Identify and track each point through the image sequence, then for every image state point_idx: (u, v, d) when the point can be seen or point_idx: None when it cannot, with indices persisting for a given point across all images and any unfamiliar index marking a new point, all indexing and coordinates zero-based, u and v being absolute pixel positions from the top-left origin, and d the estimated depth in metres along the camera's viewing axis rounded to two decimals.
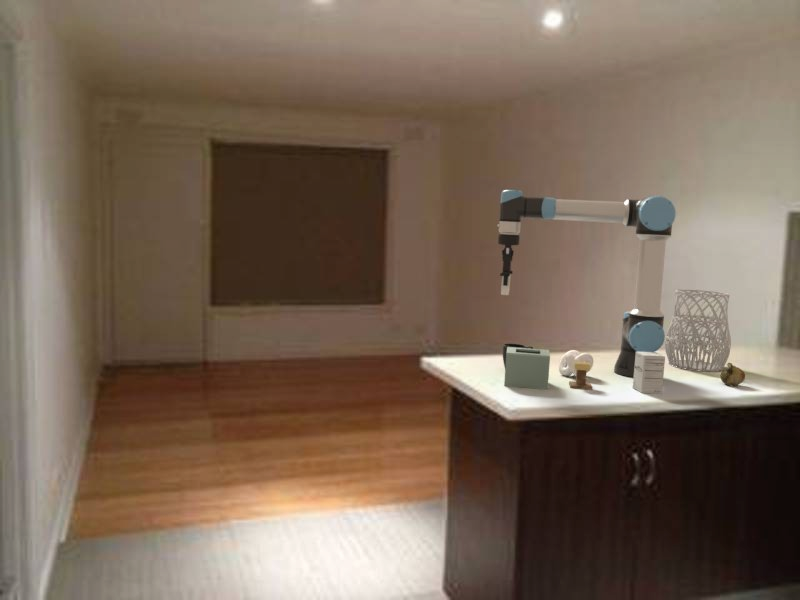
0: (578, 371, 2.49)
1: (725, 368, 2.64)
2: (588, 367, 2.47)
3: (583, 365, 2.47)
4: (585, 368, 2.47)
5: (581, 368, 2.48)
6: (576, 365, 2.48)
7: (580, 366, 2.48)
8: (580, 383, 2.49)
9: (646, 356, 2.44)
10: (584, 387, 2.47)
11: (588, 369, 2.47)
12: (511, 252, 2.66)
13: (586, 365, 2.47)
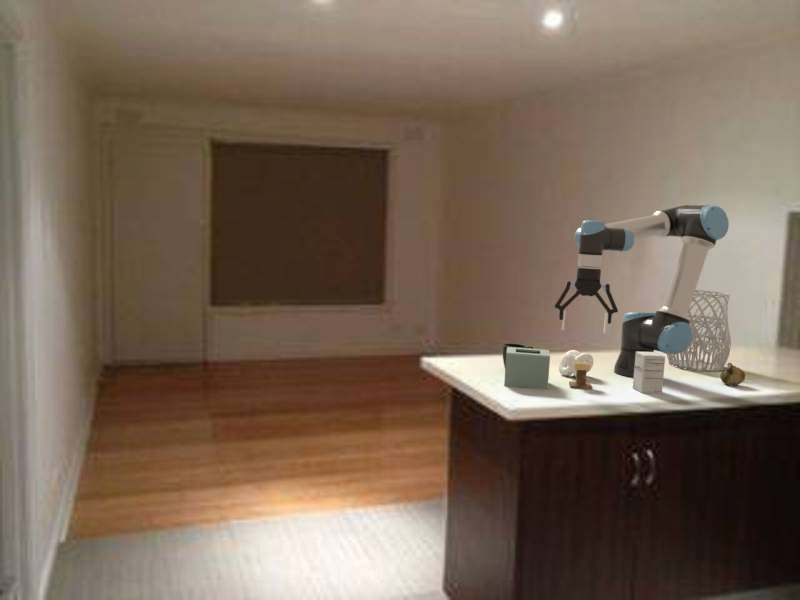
0: (578, 371, 2.49)
1: (725, 368, 2.64)
2: (588, 367, 2.47)
3: (583, 365, 2.47)
4: (585, 368, 2.47)
5: (581, 368, 2.48)
6: (576, 365, 2.48)
7: (580, 366, 2.48)
8: (580, 383, 2.49)
9: (646, 356, 2.44)
10: (584, 387, 2.47)
11: (588, 369, 2.47)
12: (581, 287, 2.46)
13: (586, 365, 2.47)
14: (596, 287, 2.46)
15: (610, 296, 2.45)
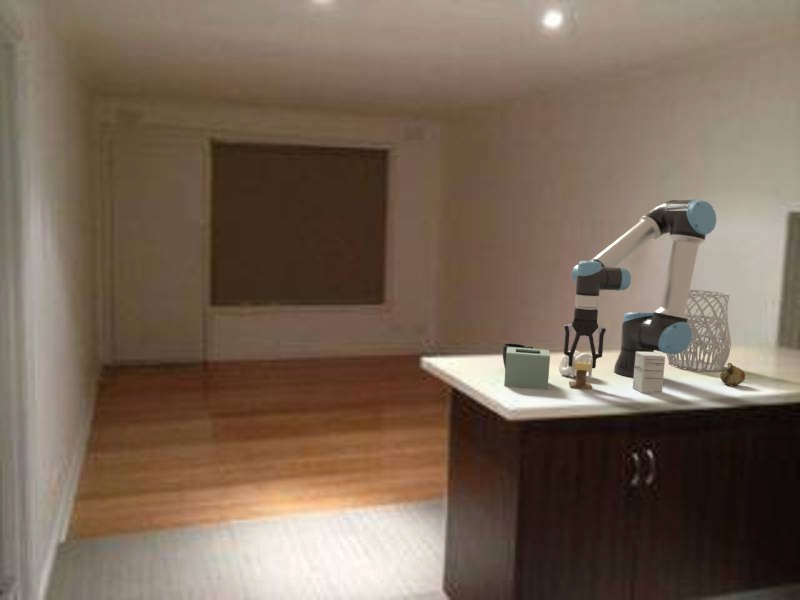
0: (578, 371, 2.49)
1: (725, 368, 2.64)
2: (588, 367, 2.47)
3: (583, 365, 2.47)
4: (585, 368, 2.47)
5: (581, 368, 2.48)
6: (576, 365, 2.48)
7: (580, 366, 2.48)
8: (580, 383, 2.49)
9: (646, 356, 2.44)
10: (584, 387, 2.47)
11: (588, 369, 2.47)
12: (578, 328, 2.48)
13: (586, 365, 2.47)
14: (593, 326, 2.47)
15: (601, 340, 2.47)
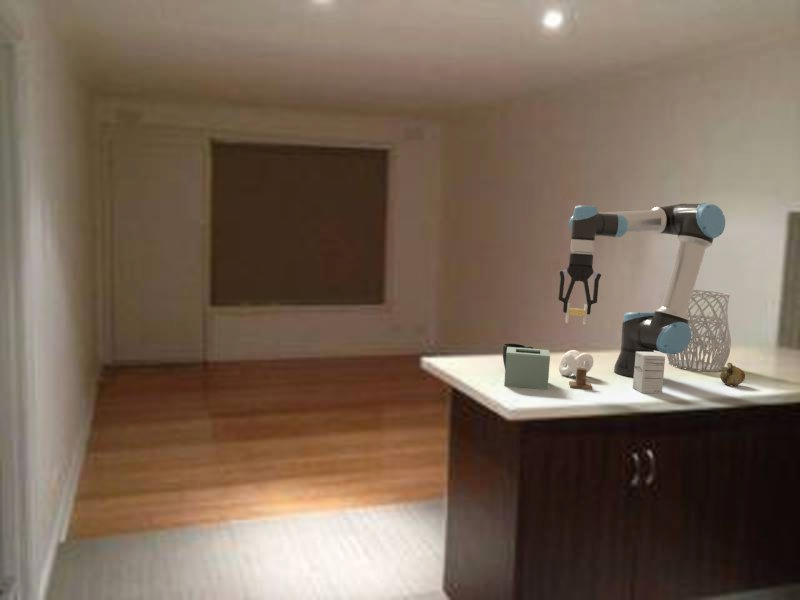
0: (578, 371, 2.49)
1: (725, 368, 2.64)
2: (583, 313, 2.45)
3: (578, 311, 2.45)
4: (580, 314, 2.45)
5: (576, 314, 2.45)
6: (571, 311, 2.46)
7: (575, 312, 2.45)
8: (580, 383, 2.49)
9: (646, 356, 2.44)
10: (584, 387, 2.47)
11: (583, 315, 2.45)
12: (574, 273, 2.46)
13: (581, 311, 2.45)
14: (588, 272, 2.45)
15: (596, 286, 2.45)
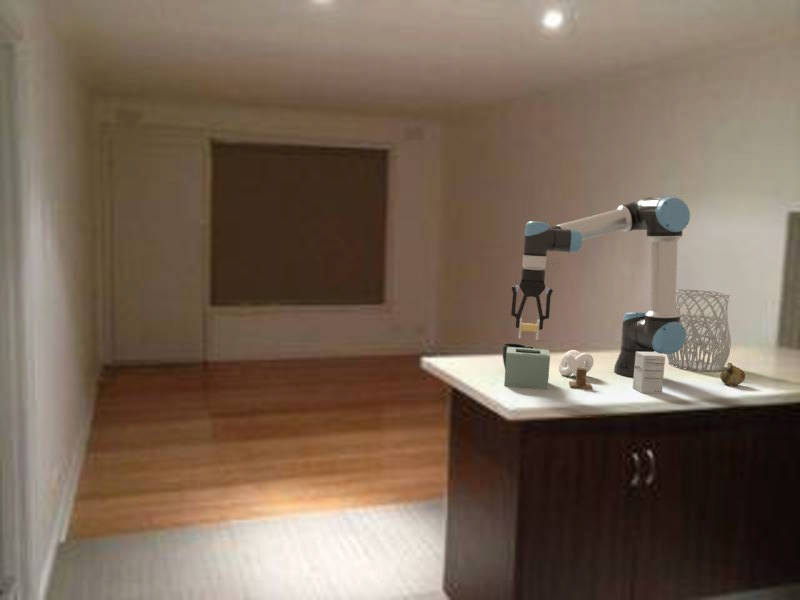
0: (578, 371, 2.49)
1: (725, 368, 2.64)
2: (535, 328, 2.46)
3: (530, 326, 2.46)
4: (532, 329, 2.46)
5: (528, 329, 2.46)
6: (523, 326, 2.46)
7: (527, 327, 2.46)
8: (580, 383, 2.49)
9: (646, 356, 2.44)
10: (584, 387, 2.47)
11: (535, 330, 2.46)
12: (526, 289, 2.46)
13: (533, 326, 2.46)
14: (540, 287, 2.46)
15: (548, 301, 2.46)
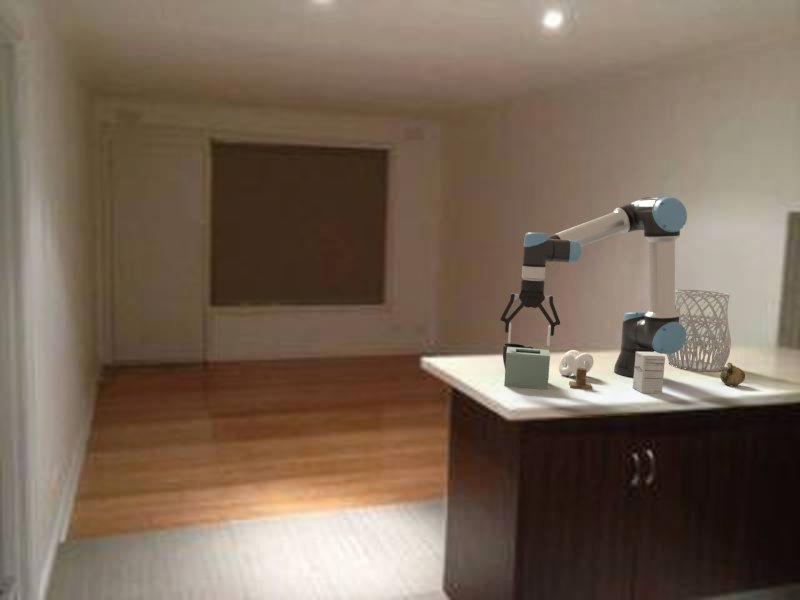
0: (578, 371, 2.49)
1: (725, 368, 2.64)
2: None
3: None
4: None
5: None
6: None
7: None
8: (580, 383, 2.49)
9: (646, 356, 2.44)
10: (584, 387, 2.47)
11: None
12: (525, 299, 2.47)
13: None
14: (540, 299, 2.46)
15: (553, 308, 2.46)
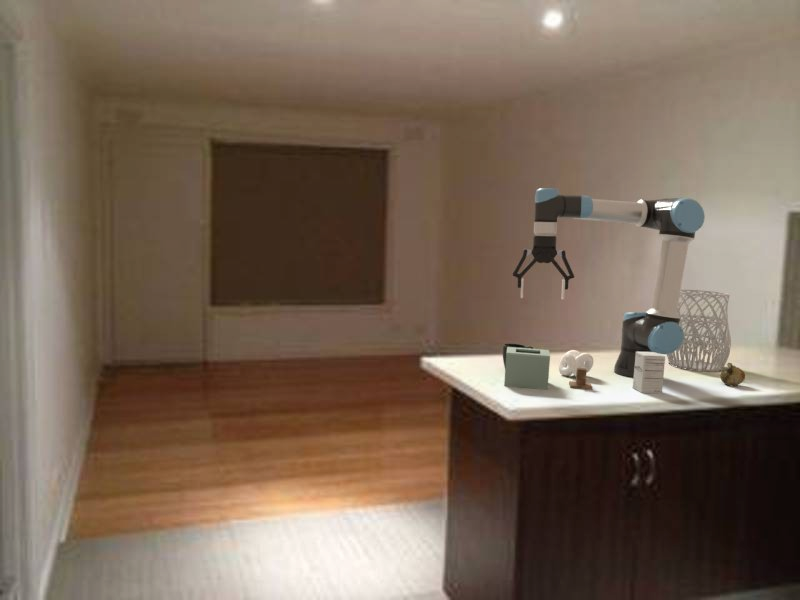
0: (578, 371, 2.49)
1: (725, 368, 2.64)
2: None
3: None
4: None
5: None
6: None
7: None
8: (580, 383, 2.49)
9: (646, 356, 2.44)
10: (584, 387, 2.47)
11: None
12: (537, 254, 2.50)
13: None
14: (552, 254, 2.49)
15: (566, 262, 2.49)
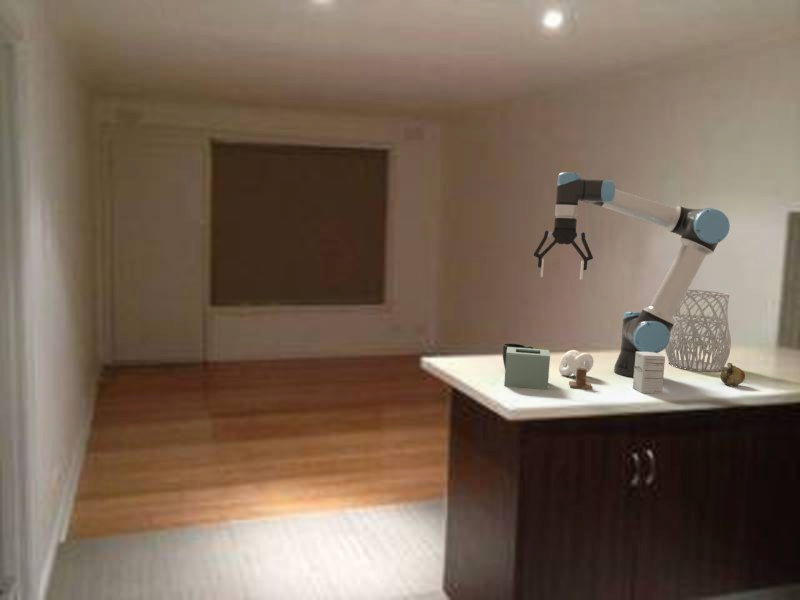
0: (578, 371, 2.49)
1: (725, 368, 2.64)
2: None
3: None
4: None
5: None
6: None
7: None
8: (580, 383, 2.49)
9: (646, 356, 2.44)
10: (584, 387, 2.47)
11: None
12: (558, 235, 2.61)
13: None
14: (572, 236, 2.60)
15: (585, 244, 2.59)
